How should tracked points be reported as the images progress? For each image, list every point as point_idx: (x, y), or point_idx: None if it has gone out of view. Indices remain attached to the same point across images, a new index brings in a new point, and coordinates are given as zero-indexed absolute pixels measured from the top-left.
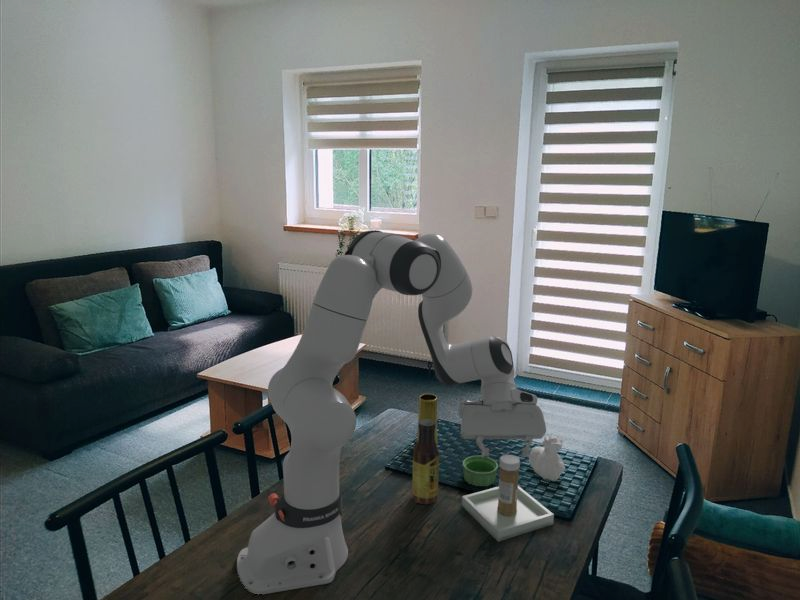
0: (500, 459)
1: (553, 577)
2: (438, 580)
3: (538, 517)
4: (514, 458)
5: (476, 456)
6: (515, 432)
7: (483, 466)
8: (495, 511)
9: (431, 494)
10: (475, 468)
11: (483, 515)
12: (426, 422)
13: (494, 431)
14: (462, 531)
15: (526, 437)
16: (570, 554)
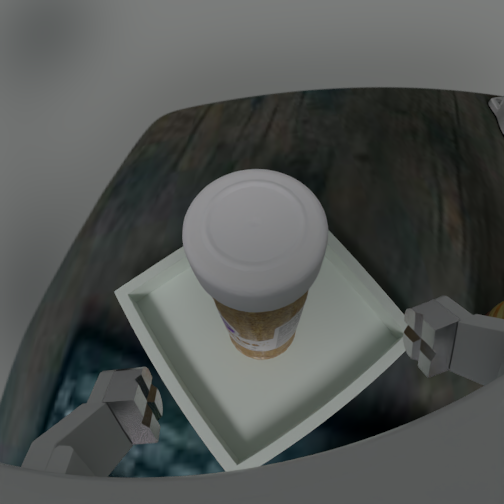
0: (321, 207)
1: (172, 135)
2: (373, 104)
3: (162, 267)
4: (218, 231)
5: None
6: (165, 493)
7: None
8: (301, 317)
9: (497, 307)
10: None
11: (337, 243)
12: None
13: (478, 415)
14: (377, 225)
15: (66, 468)
16: (119, 198)
